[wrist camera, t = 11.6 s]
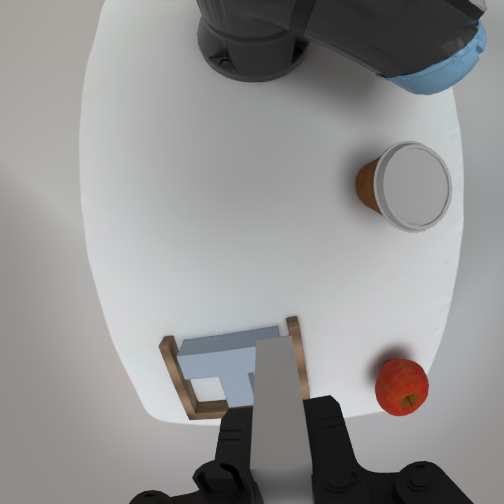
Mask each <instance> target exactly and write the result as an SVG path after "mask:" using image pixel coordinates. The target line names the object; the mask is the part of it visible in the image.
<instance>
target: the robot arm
mask: <svg viewBox="0 0 504 504" xmlns="http://www.w3.org/2000/svg"><path fill="white" fill-rule="evenodd" d="M196 1H197V3H198V6H199V8H200V11H201V13H202V16H201V19H200V23H199V27H198V33H197V37H198V44H199V47H200V50H201V52H202V54H203V56H204V58H205V60H206V61H207V63H208V64H209V65H210V66H211V67H212V68H213V69H215V70H216V71H217V72H219V73H220V74H222V75H224V76H226V77H229V78H232V79H235V80H239V81H245V82H262V81H269V80H273V79H276V78H279V77H281V76H284V75H286V74H287V73H289V72H291V71H292V70H293V69H295V68H296V67H297V66H298V65H299V64H300V63H301V61H302V60H303V58H304V57H305V55H306V52H307V50H308V47H309V44H310V40H311V41H313V42H315V43H317V44H320V45H322V46H324V47H326V48H328V49H331V50H333V51H335V52H337V53H339V54H341V55H343V56H345V57H347V58H349V59H351V60H353V61H355V62H357V63H358V64H360V65H362V66H364V67H366V68H368V69H369V70H371V71H373V72H375V74H376V75H377V76H378V77H380V78H382V79H384V80H388V81H391V82H393V83H395V84H396V85H398V86H400V87H401V88H403V89H405V90H406V91H408V92H411V93H413V94H422V95H431V94H435V93H439V92H441V91H444V90H446V89H448V88H450V87H451V86H453V85H454V84H456V83H457V82H459V81H460V80H461V79H462V78H464V77H465V76H466V75H467V74H468V73H469V72H470V71H471V70H472V69H473V67H474V66H475V65H476V63H477V62H478V60H479V56H478V54H480V53H481V52H483V51H484V49H485V46H486V40H487V38H486V31H485V29H484V27H483V25H482V23H481V21H480V20H479V18H480V17H481V16H482V15H483V14H484V12H485V11H486V9H487V8H486V5H485V1H484V0H196ZM192 479H193V480H194V482H195V483H196V485H197V486H198V488H199V489H200V490H198V491H196V492H193V493H190V494H185V495H179V496H174V497H169V496H168V495H167V494H165V493H163V492H161V491H155V490H150V491H144V492H142V493H140V494H138V495H137V496H135V497H134V498H133V499H132V500H131V502H130V503H129V504H473V502H472V501H471V500H470V499H469V498H468V497H467V496H466V495H465V494H464V493H463V492H462V491H461V490H460V489H459V487H458V486H457V485H456V484H455V483H454V482H453V481H452V480H451V479H450V478H449V477H448V476H447V475H446V474H445V472H444V471H443V470H442V469H441V468H440V467H438V466H437V465H436V464H434V463H431V462H427V461H419V462H414V463H412V464H409V465H407V466H406V467H404V468H403V469H402V470H401V471H400V472H395V473H377V472H371V471H368V470H366V469H364V468H363V467H361V466H360V465H359V464H358V463H357V460H356V458H355V455H354V452H353V448H352V445H351V441H350V438H349V434H348V431H347V428H346V425H345V421H344V418H343V414H342V411H341V408H340V404H339V403H338V402H337V401H336V400H335V399H334V398H333V397H332V396H331V395H328V396H323V397H317V398H311V399H305V400H302V394H301V388H300V382H299V375H298V369H297V363H296V358H295V352H294V346H293V340H292V335H291V336H285V337H278V338H271V339H263V340H256V356H255V378H254V400H253V407H247V408H234V409H228V411H227V412H226V414H225V415H224V416H223V418H222V419H221V425H220V433H219V436H218V442H217V448H216V454H215V460H213V461H210V462H208V463H205V464H203V465H202V466H201V467H199V468H198V469H197V470H196V471H195V473H194V475H193V477H192Z"/></svg>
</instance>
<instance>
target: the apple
mask: <svg viewBox="0 0 504 504" xmlns="http://www.w3.org/2000/svg"><path fill="white" fill-rule="evenodd" d="M428 386H429V384H428V379H427V376H426V374H425V372H424V370H423V368H422V367H421V366H420V365H419V364H417V363H416V362H414V361H410V360H405V359H393V360H389V361H388V362H387V363H386V364H384V366H383V367H382V369H381V371H380V373H379V375H378V377H377V380H376V385H375V394H376V398H377V401H378V403H379V405H380V406H381V408H382V409H384V410H385V411H386V412H388V413H389V414H391V415H394V416H405V415H408V414H410V413H413V412H414V411H415V410H416V409H417V408H418V407H420V406H421V405H422V403H423V402H424V401H425V400H426V398H427V396H428V388H429V387H428Z"/></svg>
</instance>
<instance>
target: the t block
mask: <svg viewBox="0 0 504 504" xmlns="http://www.w3.org/2000/svg"><path fill="white" fill-rule="evenodd" d="M278 337H279V331H278V326H274V327H268V328H262V329H256V330H250V331H244V332H238V333H231V334H225V335H218V336H210V337H203V338H195V339H187V340H184V342H183V344H182V346H181V348H180V350H179V352H178V354H177V359H178V362H179V365H180V367H181V370H182V373H183V375H184V378H185V380H187V379H199V378H209V377H219V378H220V381H221V385H222V388H223V391H224V394H225V397H226V400H227V403H228V406H229V407H239V406H248V405H253V400H254V378H255V377H254V373H253V372H255V356H256V340H263V339H271V338H278Z"/></svg>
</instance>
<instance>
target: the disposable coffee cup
mask: <svg viewBox="0 0 504 504" xmlns="http://www.w3.org/2000/svg"><path fill="white" fill-rule="evenodd" d="M356 191H357V194H358V196H359V198H360V200H361V201H362V202H363V203H364V204H365V205H366V206H368V207H370V208H372V209H373V210H375V211H376V212H378V213H380V214H381V215H383V216H384V217H385V218H386V220H387V221H388V222H390V223H391V224H392V225H393V226H394V227H396V228H398V229H400V230H402V231H406V232H421V231H425V230H427V229H429V228H430V227H432V226H434V225H436V224H437V223H438V222H439V221H440V220H441V219H442V218H443V217H444V215H445V214H446V212H447V210H448V208H449V205H450V201H451V196H452V184H451V178H450V174H449V171H448V168H447V166H446V164H445V163H444V161H443V160H442V159H441V157H440V156H439V155H438V154H437V153H436V152H435V151H433V150H432V149H430V148H428V147H427V146H425V145H423V144H421V143H418V142H414V141H403V142H400V143H397V144H395V145H393V146H391V147H390V148H389V149H387V150H386V151H385V153H384V154H383V155H382V156H381V157H379V158H378V159H376V160H374V161H373V162H371V163H369V164H368V165H366V166H364V167H363V168H362V169H361V170H360V171H359V173H358V176H357V178H356Z"/></svg>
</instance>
